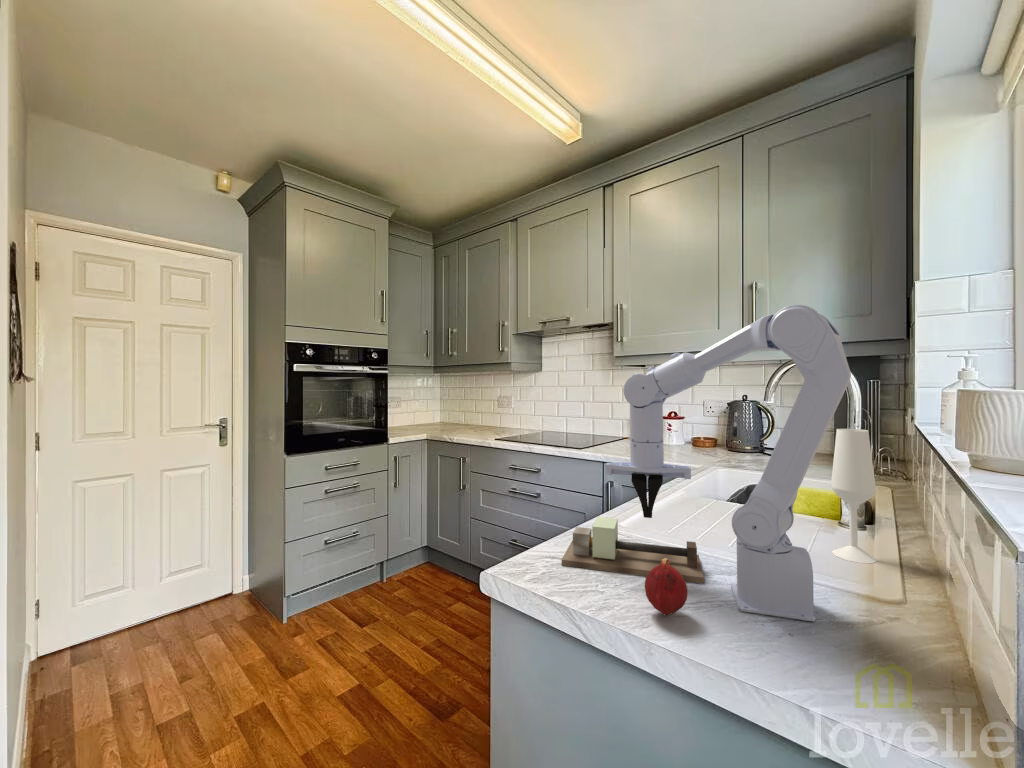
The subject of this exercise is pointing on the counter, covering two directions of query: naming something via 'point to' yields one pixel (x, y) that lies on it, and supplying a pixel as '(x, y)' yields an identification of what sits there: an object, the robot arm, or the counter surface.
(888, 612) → the counter surface
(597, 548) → the sleeve
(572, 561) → the cord board
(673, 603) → the onion
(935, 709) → the counter surface
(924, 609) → the counter surface
